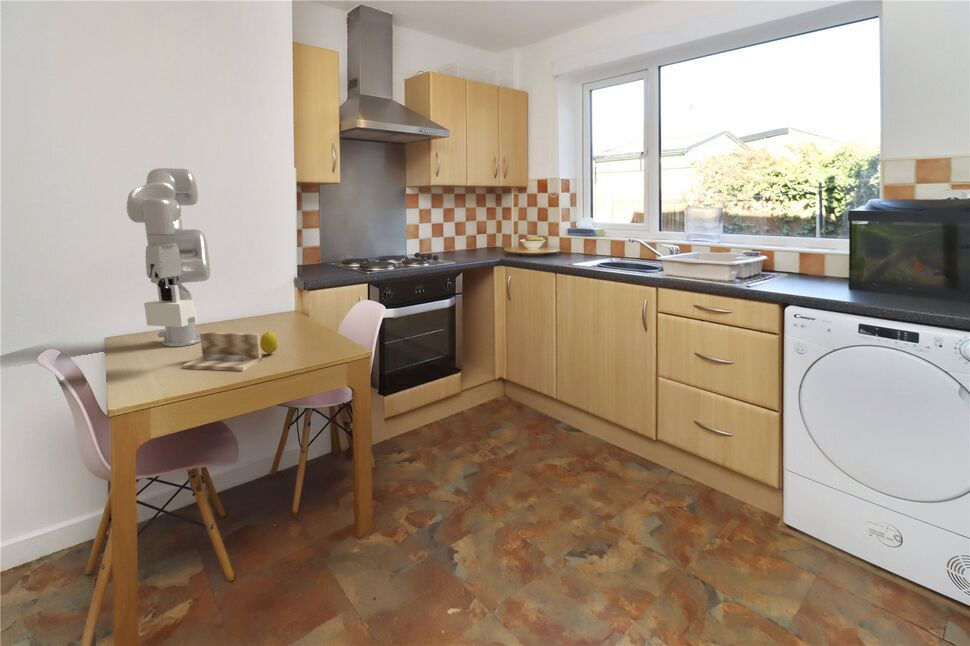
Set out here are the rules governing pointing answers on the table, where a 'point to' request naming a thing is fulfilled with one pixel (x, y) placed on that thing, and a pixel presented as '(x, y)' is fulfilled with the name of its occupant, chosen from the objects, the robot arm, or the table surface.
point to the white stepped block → (170, 310)
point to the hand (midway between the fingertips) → (169, 299)
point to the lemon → (269, 343)
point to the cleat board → (227, 351)
